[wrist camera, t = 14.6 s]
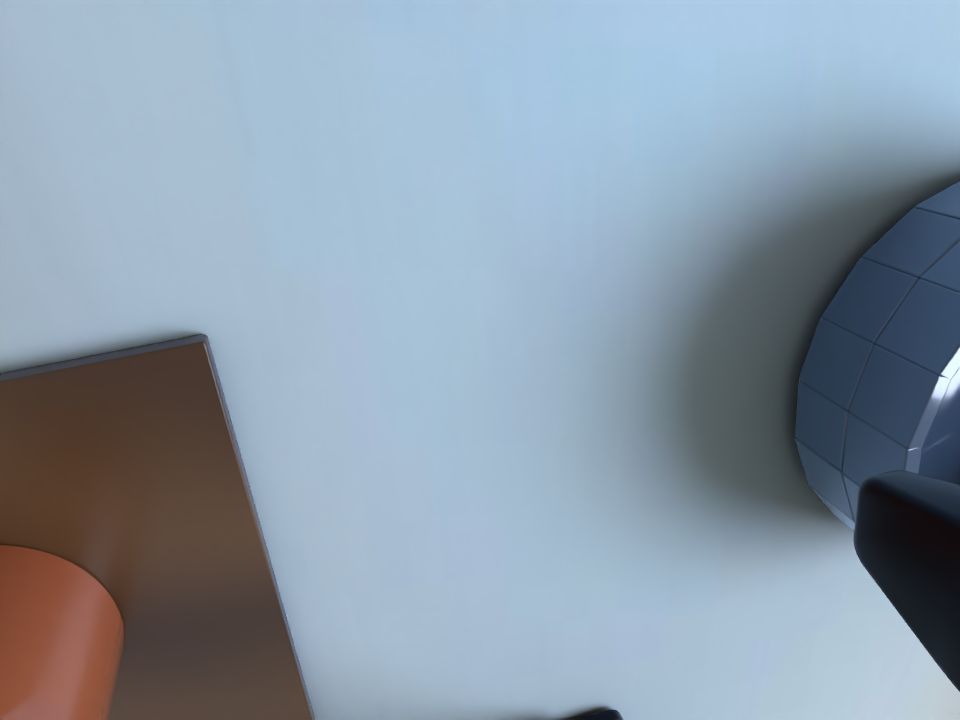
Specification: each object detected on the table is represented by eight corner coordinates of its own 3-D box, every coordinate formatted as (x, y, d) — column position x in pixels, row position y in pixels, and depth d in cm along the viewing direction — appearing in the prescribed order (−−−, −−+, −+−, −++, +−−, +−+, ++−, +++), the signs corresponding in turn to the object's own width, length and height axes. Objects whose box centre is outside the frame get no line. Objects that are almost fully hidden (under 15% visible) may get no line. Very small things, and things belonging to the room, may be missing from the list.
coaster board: (319, 733, 25) (320, 748, 24) (-170, 880, 22) (-181, 901, 21) (206, 332, 19) (205, 341, 18) (-475, 465, 16) (-500, 479, 16)
